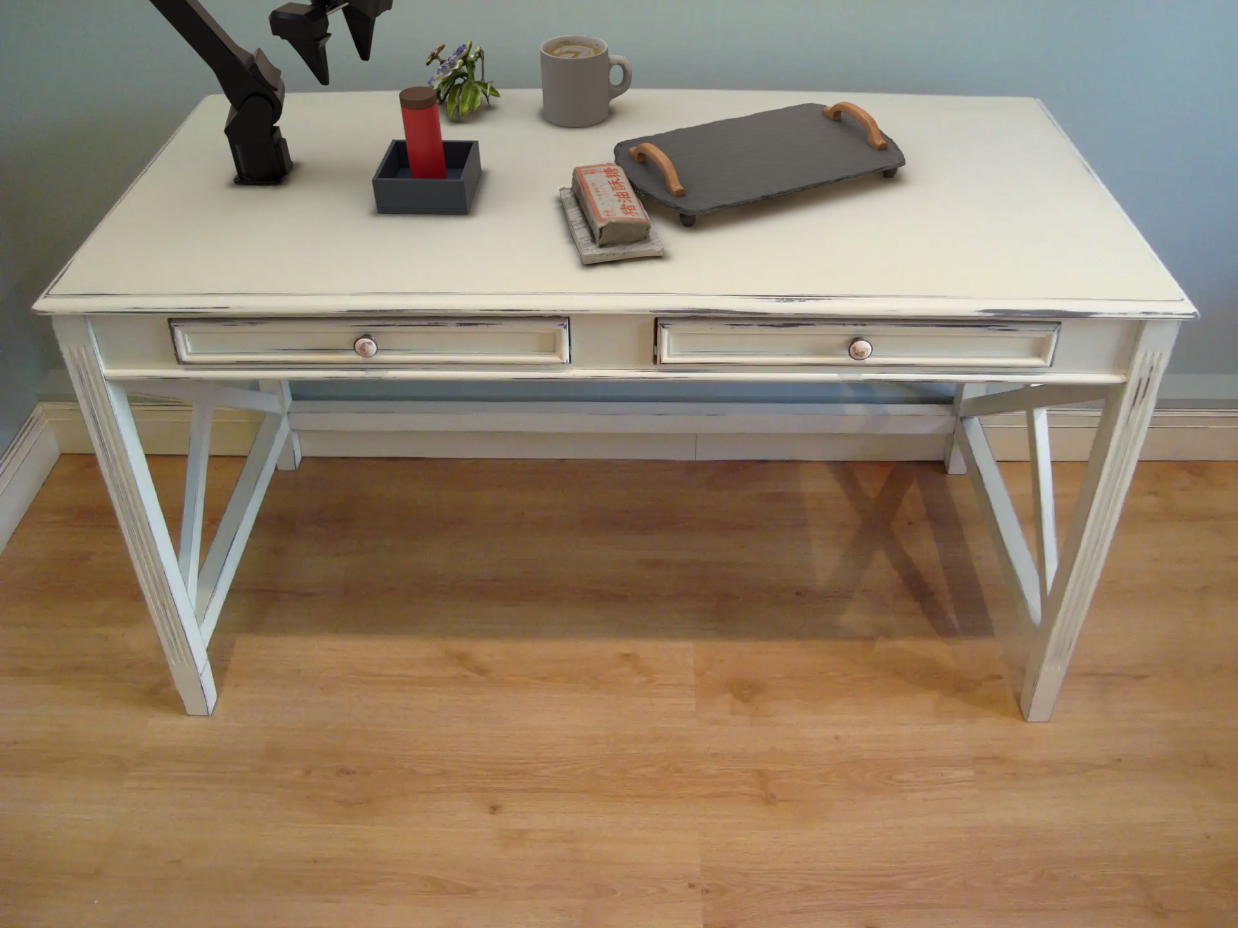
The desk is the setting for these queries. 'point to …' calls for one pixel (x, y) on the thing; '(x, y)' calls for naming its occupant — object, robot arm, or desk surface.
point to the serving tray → (756, 157)
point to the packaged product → (607, 215)
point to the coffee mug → (579, 80)
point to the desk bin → (428, 181)
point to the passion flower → (467, 89)
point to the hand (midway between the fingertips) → (345, 72)
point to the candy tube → (423, 133)
